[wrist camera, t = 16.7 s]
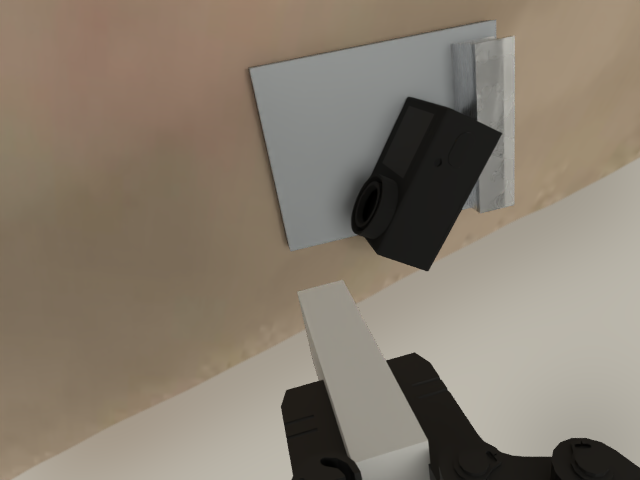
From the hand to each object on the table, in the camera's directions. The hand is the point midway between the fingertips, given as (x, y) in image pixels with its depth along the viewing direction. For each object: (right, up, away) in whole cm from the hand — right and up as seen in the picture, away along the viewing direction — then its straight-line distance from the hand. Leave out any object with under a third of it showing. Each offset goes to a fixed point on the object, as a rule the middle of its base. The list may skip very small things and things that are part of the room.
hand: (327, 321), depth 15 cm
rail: (+11, +12, +21) cm, 26 cm away
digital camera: (+6, +8, +21) cm, 23 cm away
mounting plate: (+5, +11, +22) cm, 24 cm away
